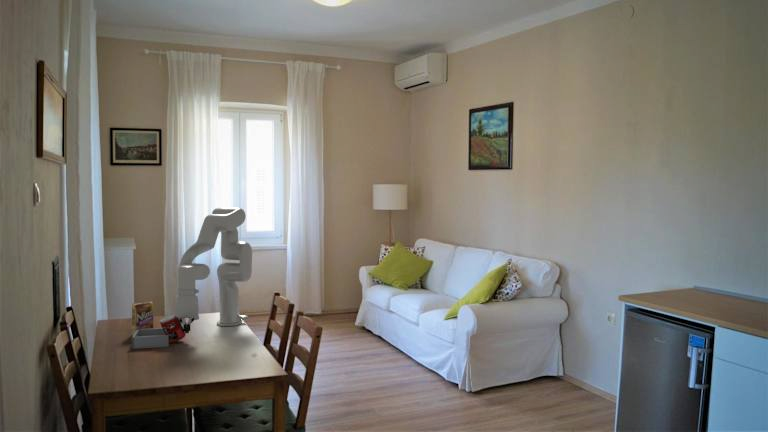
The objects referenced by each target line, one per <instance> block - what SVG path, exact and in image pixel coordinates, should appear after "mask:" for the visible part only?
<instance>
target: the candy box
mask: <svg viewBox="0 0 768 432" xmlns="http://www.w3.org/2000/svg"><path fill="white" fill-rule="evenodd" d="M153 328H154V302H153V301H144V302H138V303H137V302H136V303H135V302H134V303H132V304H131V335H132V336H133V335H134V333H135V332H136V330H137V329H153Z"/></svg>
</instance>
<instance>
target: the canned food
mask: <svg viewBox="0 0 768 432" xmlns="http://www.w3.org/2000/svg"><path fill="white" fill-rule="evenodd" d="M159 324H160V326H161V328H163V331H164V333H165V335H168V341H169V343H170V344H173V343H176V342H179V341H181V340H182V339H184V338H185V337H186V334H185V331H183V324H182V323H181V322H180V321H179V319H178V318H176V316H175V312H174V313H171V314H169V315H165V316H164V317H162V318H161V319H160V320H159Z"/></svg>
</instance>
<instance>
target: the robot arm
mask: <svg viewBox="0 0 768 432" xmlns="http://www.w3.org/2000/svg"><path fill="white" fill-rule="evenodd" d="M246 216H247V214H246V212H245V211H244V209H243V208H240V207H217V208H214V209H213V210H212V212H211V214H209V215H206V216H205V217H204V220H203V222H202V225H201V227H200V228H201V229H200V231H199V234H198V237H197V240H196V241H195V243H193V244H192V245H191V246H190V247H189V248H188V249H187V250H186V251H185V252H184V253H183V255H182V257H181V259H180V262H179V265H178V268H177V295H176V298H175V305H174V313H175V316H176V318H178V319H179V321H180V322H181V324H182V327H183V331H185V335H186V334H189V333H190V332H191V324H192V323H193V322H194V321H197V320H199V319H200V315H199V311H200V309H199V297H198V293H199V292H200V290H199V289H196V281H199V280H200V281H203V280H205V279H207V278H208V277H209V275H210V273H211V270H210V267H209V266H208V265H206V264H205V263H197V262H195V263H194V262H193V261H194V260H195V259H196V258H197V257H199V255H201V254H204V253H206V252H208V251H211V250H213V249H214V248H215V245H216V243H217V240H218V237H219V233H220V241H221V242H220V256H221V258H222V259H224V260H229V261H239V262H223V263H221V264H219V265H218V266H217V270H216V276H217V279H218V285H219V286H218V288H219V289H218V290H219V320H217V321H216V325H218V326H221V327H234V326H239V325H241V324H243V320H246V321H247V320H248V321H249V315H240V314H241V313H240V312H239V311H240V308H239V307H240V305H239V303H240V301H239V300H240V299H239V298H240V297H239V295H240V294H239V286H238V284H237V283H236V282H238V283H246V282H248V281H249V280H250V279H251V277H252V271H253V248H252V245H251V244H250V243H249V242H246V241H239V230H238V228H239V227H240V226H241V225H242V224H244V223H245V220H246ZM186 319H188V321H187V322H186ZM241 319H242V320H241Z"/></svg>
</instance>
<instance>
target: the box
mask: <svg viewBox="0 0 768 432" xmlns="http://www.w3.org/2000/svg"><path fill="white" fill-rule="evenodd" d="M169 343H170V342H169V341H168V335H165V333H164V331H163V328H162V327H156V328H155V327H153V329H137V330H136V332H135V333H134V335H132V336H131V349H132V350H133V349H134V350H135V349H136V350H137V349H148V348H149V349H150V348H166V347H169V345H170V344H169Z"/></svg>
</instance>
